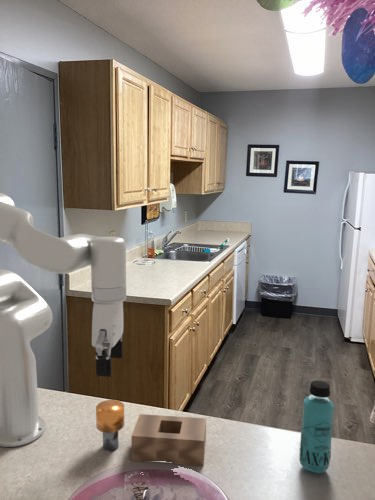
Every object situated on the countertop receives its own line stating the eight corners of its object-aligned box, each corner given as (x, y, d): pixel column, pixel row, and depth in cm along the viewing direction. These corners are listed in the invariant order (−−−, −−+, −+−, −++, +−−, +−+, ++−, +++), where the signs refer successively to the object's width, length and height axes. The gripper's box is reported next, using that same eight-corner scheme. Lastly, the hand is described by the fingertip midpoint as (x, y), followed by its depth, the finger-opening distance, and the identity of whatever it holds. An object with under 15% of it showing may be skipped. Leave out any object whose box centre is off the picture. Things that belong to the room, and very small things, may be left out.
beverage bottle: (292, 464, 95) (297, 379, 92) (316, 457, 97) (321, 374, 94) (311, 483, 89) (317, 393, 86) (336, 475, 91) (343, 387, 88)
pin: (93, 454, 97) (92, 413, 96) (101, 437, 104) (100, 399, 102) (120, 456, 97) (120, 415, 95) (127, 439, 103) (127, 400, 101)
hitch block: (131, 460, 95) (131, 435, 94) (139, 437, 104) (139, 414, 103) (203, 466, 94) (204, 440, 93) (205, 441, 103) (206, 418, 102)
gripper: (103, 283, 103) (104, 350, 106) (79, 303, 86) (81, 382, 89) (134, 284, 103) (134, 352, 105) (115, 304, 85) (116, 384, 88)
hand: (110, 366), depth 97 cm, fingers open, 9 cm apart
